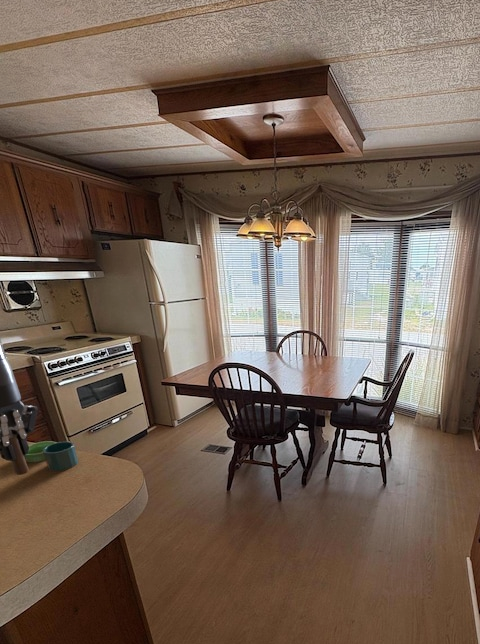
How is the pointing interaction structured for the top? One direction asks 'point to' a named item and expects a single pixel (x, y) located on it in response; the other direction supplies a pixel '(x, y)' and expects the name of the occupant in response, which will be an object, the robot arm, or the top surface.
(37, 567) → the top surface
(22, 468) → the brown cylinder rod
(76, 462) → the cup
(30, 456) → the ramekin
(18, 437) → the robot arm
